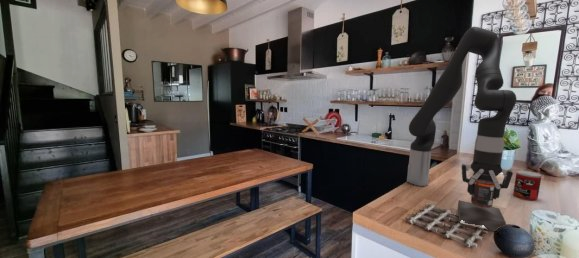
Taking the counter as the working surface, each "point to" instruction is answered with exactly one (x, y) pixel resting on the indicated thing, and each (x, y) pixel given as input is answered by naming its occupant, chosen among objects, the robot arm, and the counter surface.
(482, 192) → the supplement bottle
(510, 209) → the counter surface
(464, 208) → the riser
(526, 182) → the canned food
